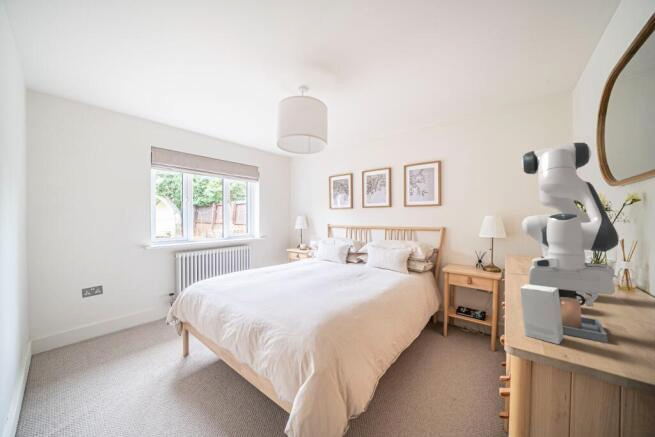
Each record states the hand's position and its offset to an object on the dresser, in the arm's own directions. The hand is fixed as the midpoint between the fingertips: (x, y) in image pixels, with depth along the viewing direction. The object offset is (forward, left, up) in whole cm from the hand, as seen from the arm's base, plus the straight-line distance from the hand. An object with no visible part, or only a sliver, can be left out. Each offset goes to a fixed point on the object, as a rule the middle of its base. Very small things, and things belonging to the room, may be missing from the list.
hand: (569, 302), depth 79 cm
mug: (-23, 0, -9) cm, 24 cm away
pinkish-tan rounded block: (0, 0, -8) cm, 8 cm away
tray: (0, 0, -8) cm, 8 cm away
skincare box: (+13, -7, -9) cm, 17 cm away
